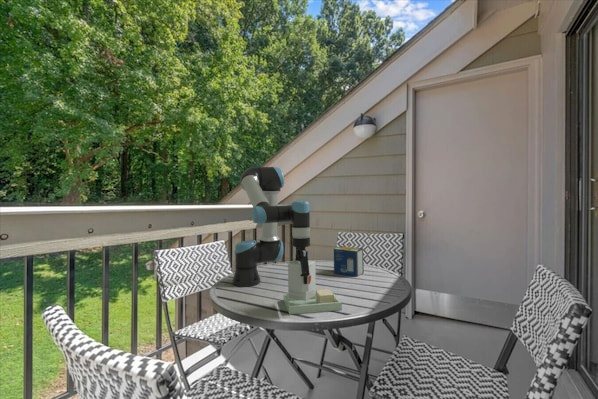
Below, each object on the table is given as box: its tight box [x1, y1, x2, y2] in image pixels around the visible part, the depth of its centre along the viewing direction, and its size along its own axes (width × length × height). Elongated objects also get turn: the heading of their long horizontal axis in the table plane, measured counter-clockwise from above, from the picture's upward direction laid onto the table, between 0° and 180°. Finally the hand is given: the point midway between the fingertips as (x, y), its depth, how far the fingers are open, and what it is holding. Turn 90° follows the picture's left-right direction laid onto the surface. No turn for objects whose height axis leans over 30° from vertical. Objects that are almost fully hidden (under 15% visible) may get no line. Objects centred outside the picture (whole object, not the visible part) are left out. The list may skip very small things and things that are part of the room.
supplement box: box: [287, 260, 317, 301], centre depth 134 cm, size 9×9×15 cm
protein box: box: [333, 245, 365, 278], centre depth 191 cm, size 10×15×16 cm
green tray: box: [283, 292, 343, 315], centre depth 135 cm, size 17×22×4 cm
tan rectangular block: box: [316, 288, 335, 304], centre depth 137 cm, size 8×6×5 cm
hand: (302, 287), depth 135 cm, fingers closed on supplement box, 12 cm apart
